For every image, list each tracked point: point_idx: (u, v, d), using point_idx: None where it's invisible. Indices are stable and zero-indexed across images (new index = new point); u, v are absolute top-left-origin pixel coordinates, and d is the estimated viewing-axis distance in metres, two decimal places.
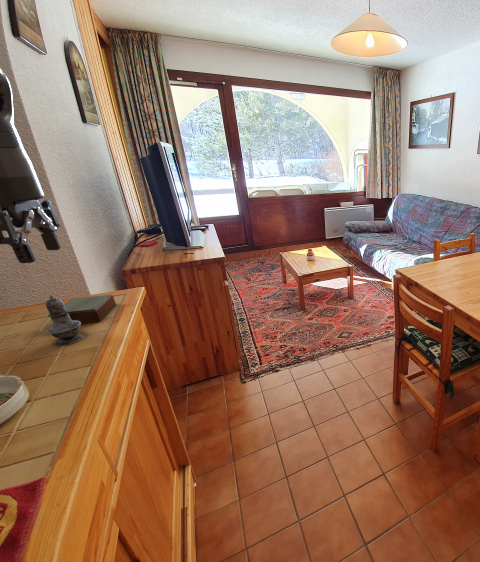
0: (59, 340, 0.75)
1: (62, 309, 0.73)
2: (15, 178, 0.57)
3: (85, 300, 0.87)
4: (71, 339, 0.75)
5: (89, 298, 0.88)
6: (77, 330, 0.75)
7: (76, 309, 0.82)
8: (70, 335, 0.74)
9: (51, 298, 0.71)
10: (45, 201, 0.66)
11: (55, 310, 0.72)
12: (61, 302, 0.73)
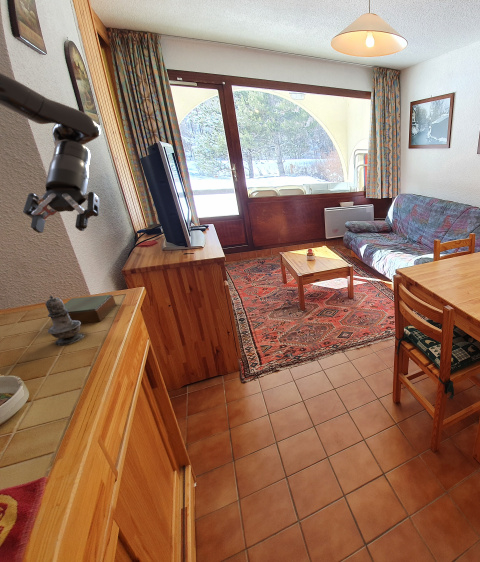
0: (59, 340, 0.75)
1: (62, 309, 0.73)
2: None
3: (85, 300, 0.87)
4: (71, 339, 0.75)
5: (89, 298, 0.88)
6: (77, 330, 0.75)
7: (76, 309, 0.82)
8: (70, 335, 0.74)
9: (51, 298, 0.71)
10: None
11: (55, 310, 0.72)
12: (61, 302, 0.73)
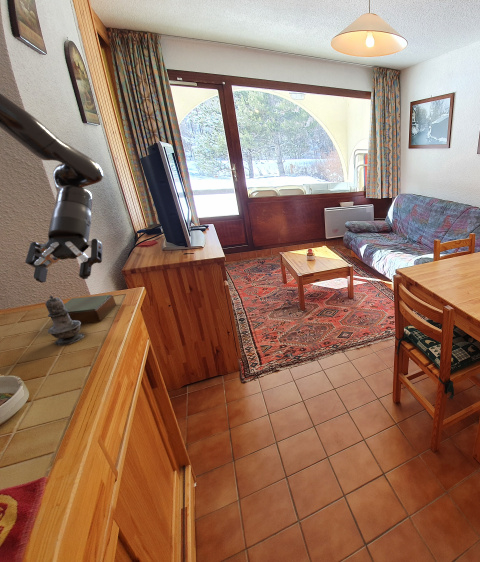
0: (59, 340, 0.75)
1: (62, 309, 0.73)
2: None
3: (85, 300, 0.87)
4: (71, 339, 0.75)
5: (89, 298, 0.88)
6: (77, 330, 0.75)
7: (76, 309, 0.82)
8: (70, 335, 0.74)
9: (51, 298, 0.71)
10: None
11: (55, 310, 0.72)
12: (61, 302, 0.73)
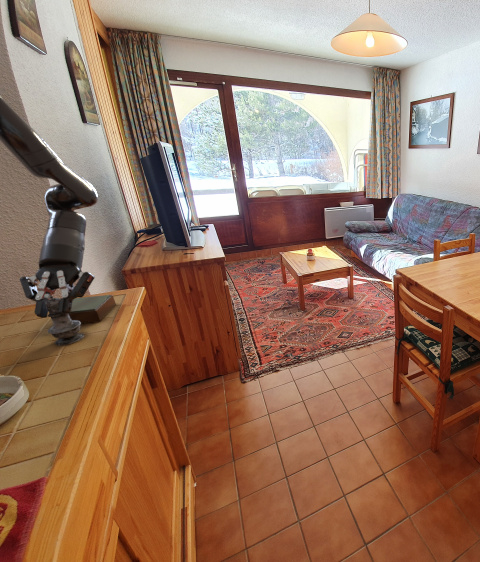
0: (59, 340, 0.75)
1: None
2: None
3: (85, 300, 0.87)
4: (71, 339, 0.75)
5: (89, 298, 0.88)
6: (77, 330, 0.75)
7: (76, 309, 0.82)
8: (70, 335, 0.74)
9: (51, 298, 0.71)
10: None
11: (55, 310, 0.72)
12: None
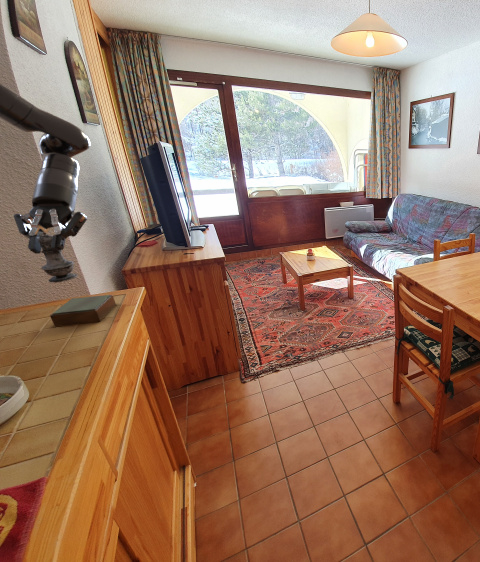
0: (52, 278, 0.76)
1: None
2: None
3: (85, 300, 0.87)
4: (64, 277, 0.77)
5: (89, 298, 0.88)
6: (70, 269, 0.77)
7: (76, 309, 0.82)
8: (63, 273, 0.76)
9: (44, 234, 0.73)
10: None
11: (48, 246, 0.73)
12: None
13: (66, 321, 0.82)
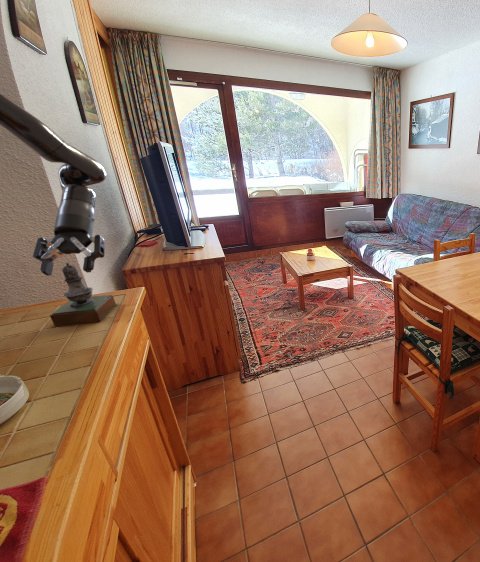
0: (73, 304, 0.84)
1: (77, 275, 0.82)
2: None
3: None
4: (84, 302, 0.85)
5: None
6: (89, 295, 0.85)
7: (76, 309, 0.82)
8: (83, 299, 0.84)
9: (67, 265, 0.81)
10: None
11: (71, 275, 0.81)
12: (76, 269, 0.82)
13: (66, 321, 0.82)
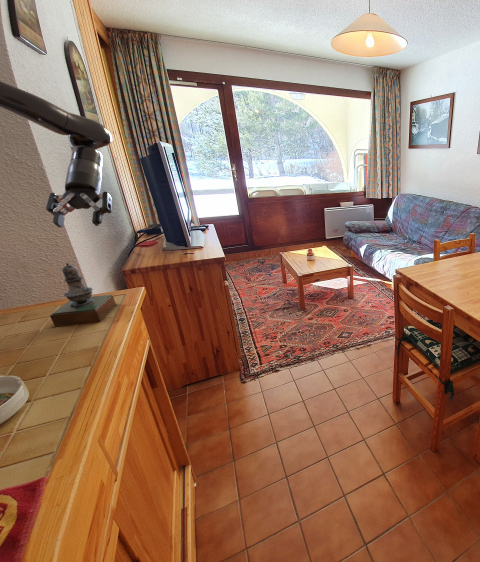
0: (73, 304, 0.84)
1: (77, 275, 0.82)
2: None
3: None
4: (84, 302, 0.85)
5: None
6: (89, 295, 0.85)
7: (76, 309, 0.82)
8: (83, 299, 0.84)
9: (67, 265, 0.81)
10: None
11: (71, 275, 0.81)
12: (76, 269, 0.82)
13: (66, 321, 0.82)
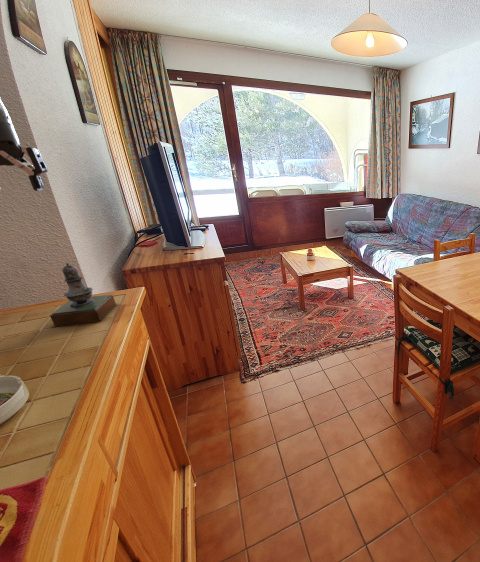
0: (73, 304, 0.84)
1: (77, 275, 0.82)
2: None
3: None
4: (84, 302, 0.85)
5: None
6: (89, 295, 0.85)
7: (76, 309, 0.82)
8: (83, 299, 0.84)
9: (67, 265, 0.81)
10: None
11: (71, 275, 0.81)
12: (76, 269, 0.82)
13: (66, 321, 0.82)
